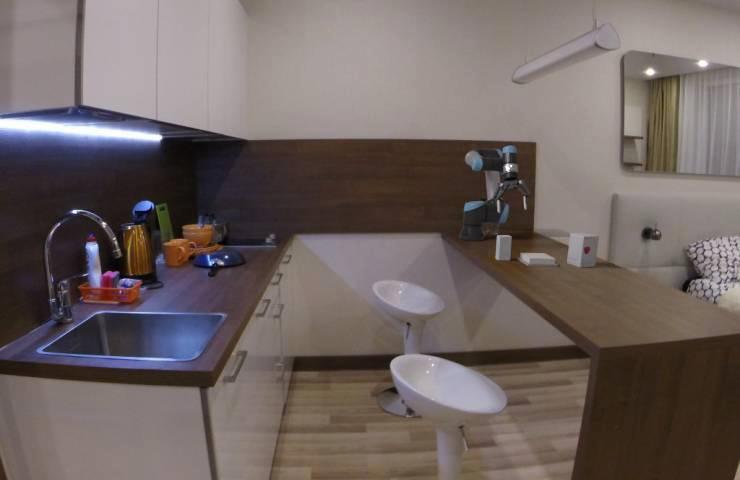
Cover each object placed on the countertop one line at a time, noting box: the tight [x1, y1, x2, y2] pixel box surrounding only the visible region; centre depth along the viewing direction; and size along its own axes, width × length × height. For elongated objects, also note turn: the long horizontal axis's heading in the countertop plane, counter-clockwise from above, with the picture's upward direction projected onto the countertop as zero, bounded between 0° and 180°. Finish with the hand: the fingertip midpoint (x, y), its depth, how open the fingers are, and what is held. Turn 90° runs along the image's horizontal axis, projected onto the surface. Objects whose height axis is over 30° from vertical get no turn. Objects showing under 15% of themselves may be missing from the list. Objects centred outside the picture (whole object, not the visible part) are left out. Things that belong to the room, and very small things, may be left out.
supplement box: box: [566, 232, 600, 268], centre depth 200 cm, size 9×9×15 cm
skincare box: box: [494, 234, 512, 261], centre depth 207 cm, size 6×4×12 cm
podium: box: [516, 252, 559, 268], centre depth 203 cm, size 14×14×4 cm
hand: (512, 210), depth 224 cm, fingers open, 13 cm apart
